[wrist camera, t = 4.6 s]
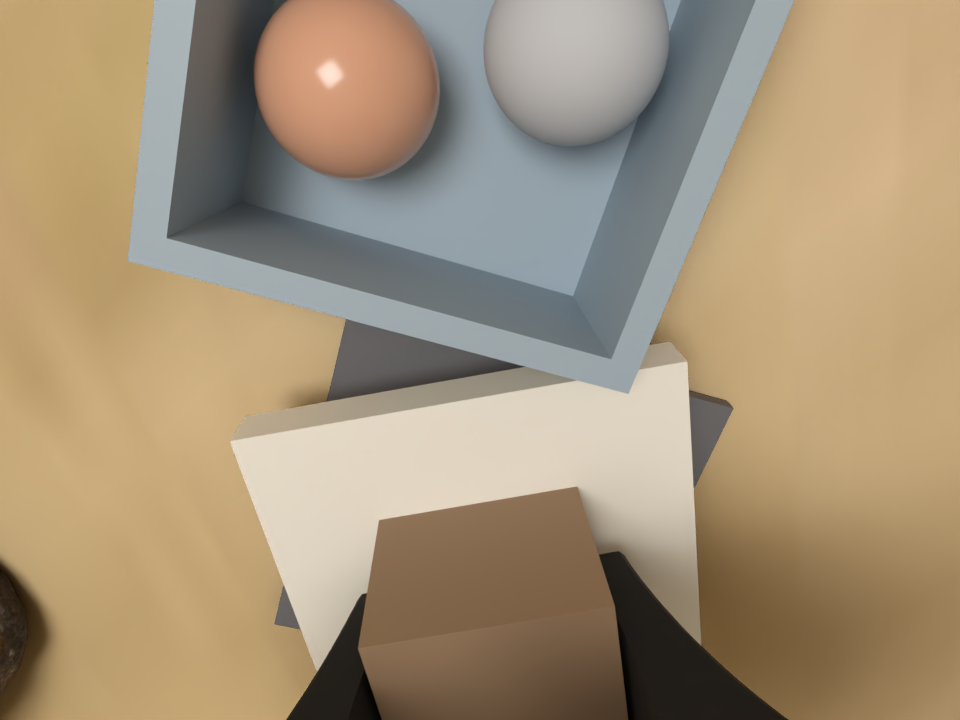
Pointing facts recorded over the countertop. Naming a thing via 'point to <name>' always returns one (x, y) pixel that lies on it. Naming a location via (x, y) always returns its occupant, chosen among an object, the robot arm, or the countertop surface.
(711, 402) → the mat
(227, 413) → the countertop surface
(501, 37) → the ball grey
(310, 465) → the lid
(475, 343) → the box
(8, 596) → the stone
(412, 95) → the ball terracotta
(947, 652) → the countertop surface
